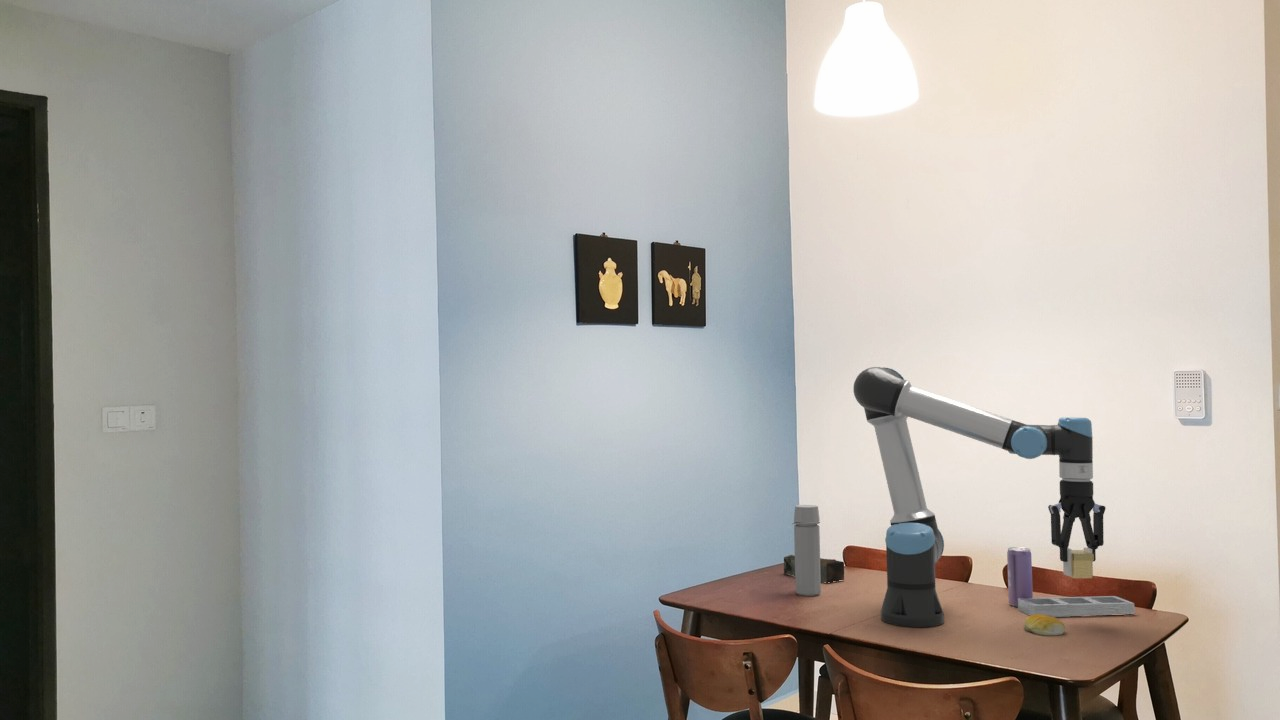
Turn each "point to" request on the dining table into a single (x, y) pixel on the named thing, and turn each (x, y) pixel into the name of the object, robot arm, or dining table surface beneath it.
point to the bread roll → (1044, 625)
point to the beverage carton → (828, 568)
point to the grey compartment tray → (1075, 606)
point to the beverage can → (1019, 574)
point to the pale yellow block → (1081, 564)
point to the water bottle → (807, 550)
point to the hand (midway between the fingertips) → (1078, 574)
